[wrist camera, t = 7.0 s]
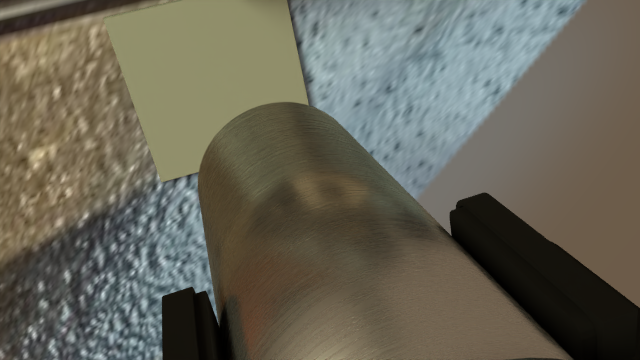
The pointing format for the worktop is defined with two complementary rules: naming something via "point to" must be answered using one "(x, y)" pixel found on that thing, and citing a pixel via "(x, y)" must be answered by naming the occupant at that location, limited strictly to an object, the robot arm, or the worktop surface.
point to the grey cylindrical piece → (340, 255)
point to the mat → (203, 70)
